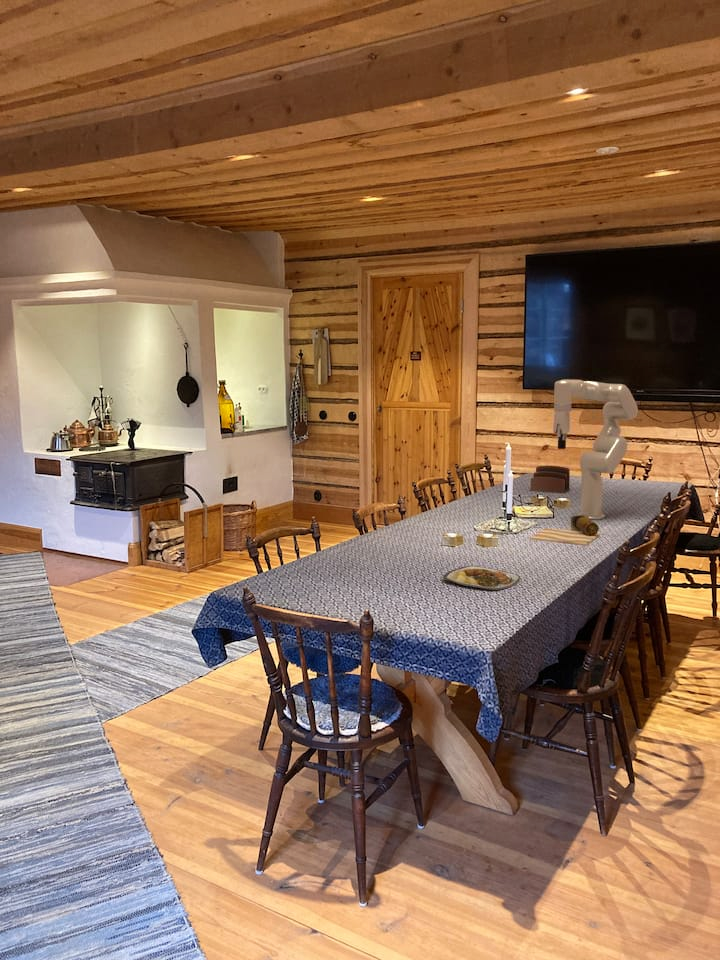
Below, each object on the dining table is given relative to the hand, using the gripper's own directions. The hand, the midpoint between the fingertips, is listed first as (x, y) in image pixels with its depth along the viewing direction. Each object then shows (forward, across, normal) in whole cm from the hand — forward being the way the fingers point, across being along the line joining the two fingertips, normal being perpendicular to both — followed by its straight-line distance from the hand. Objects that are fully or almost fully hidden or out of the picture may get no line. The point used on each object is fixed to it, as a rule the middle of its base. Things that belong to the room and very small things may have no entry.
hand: (561, 448), depth 351 cm
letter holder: (+36, -83, -33) cm, 96 cm away
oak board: (+35, +24, +10) cm, 44 cm away
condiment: (+31, +11, +12) cm, 35 cm away
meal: (+36, +98, +4) cm, 104 cm away
